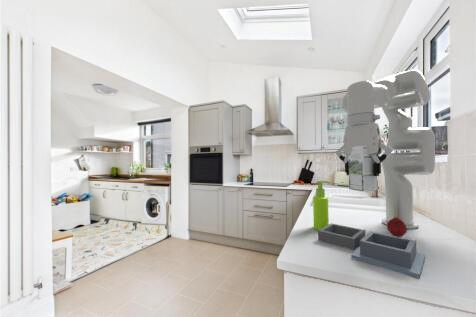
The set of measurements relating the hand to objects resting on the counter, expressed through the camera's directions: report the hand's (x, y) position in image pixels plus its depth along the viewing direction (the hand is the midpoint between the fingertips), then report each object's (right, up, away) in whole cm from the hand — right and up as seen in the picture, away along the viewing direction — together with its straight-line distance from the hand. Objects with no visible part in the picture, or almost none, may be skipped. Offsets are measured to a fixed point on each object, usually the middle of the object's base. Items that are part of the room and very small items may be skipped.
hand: (362, 175), depth 67 cm
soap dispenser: (-5, -24, +20) cm, 32 cm away
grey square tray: (-3, -24, +7) cm, 25 cm away
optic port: (+3, -24, -7) cm, 25 cm away
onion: (+18, -24, +8) cm, 31 cm away
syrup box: (0, -5, 0) cm, 5 cm away
